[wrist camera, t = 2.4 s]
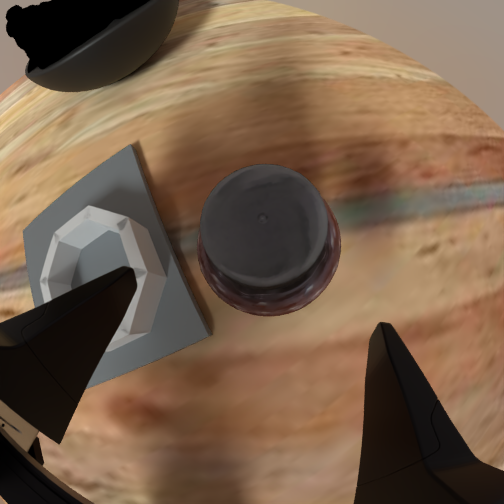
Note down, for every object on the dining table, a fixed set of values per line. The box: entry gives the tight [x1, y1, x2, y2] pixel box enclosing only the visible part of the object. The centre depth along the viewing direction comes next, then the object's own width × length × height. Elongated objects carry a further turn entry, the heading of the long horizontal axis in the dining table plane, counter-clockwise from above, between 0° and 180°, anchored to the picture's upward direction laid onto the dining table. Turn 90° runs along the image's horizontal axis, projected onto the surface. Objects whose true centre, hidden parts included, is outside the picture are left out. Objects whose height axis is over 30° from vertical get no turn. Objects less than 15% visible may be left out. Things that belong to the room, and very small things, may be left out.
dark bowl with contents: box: [6, 0, 179, 92], centre depth 18 cm, size 20×20×19 cm
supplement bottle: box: [197, 164, 341, 316], centre depth 14 cm, size 6×6×11 cm
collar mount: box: [23, 144, 212, 389], centre depth 19 cm, size 18×16×4 cm
